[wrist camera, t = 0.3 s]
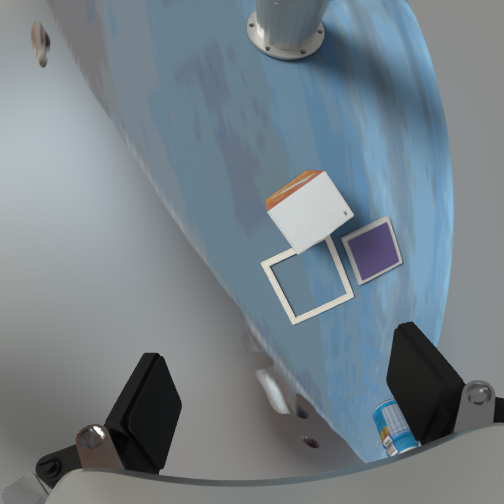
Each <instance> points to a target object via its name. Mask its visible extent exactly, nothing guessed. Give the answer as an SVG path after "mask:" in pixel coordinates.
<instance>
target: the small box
mask: <svg viewBox="0 0 504 504" xmlns="http://www.w3.org/2000/svg"><path fill="white" fill-rule="evenodd" d="M266 206H267V213H268V214H269V215H270V217H271V218H272V220H273V221H274V222H275V224H276V225H277V227H278V228H279V229H280V231H281V232H282V234H283V235H284V236H285V238H286V239H287V241H288V242H289V243H290V245H291V246H292V248H293V249H294V251H295V252H296V253H297V254H298V255H299V254H301V253H303V252H304V251H306V250H307V249H309V248H310V247H312V246H313V245H314V244H316V243H317V242H319V241H320V240H322V239H323V238H325V237H327V236H328V235H329V234H331V233H332V232H333V231H335V230H336V229H337V228H338V227H340V226H341V225H342V224H344V223H345V222H346V221H348V220H349V219H350V218H352V217H353V216H354V214H353V212H352V211H351V209H350V208H349V206H348V205H347V203H346V201H345V200H344V198H343V197H342V195H341V194H340V193H339V191H338V190H337V188H336V187H335V185H334V184H333V182H332V181H331V179H330V178H329V176H328V175H327V173H326V172H325V171H312V170H306V171H305V172H303V173H302V174H301V175H299V176H298V177H297V178H295V179H294V180H293V181H291V182H290V183H289V184H287V185H286V186H284V187H283V188H282V189H280V190H279V191H277V192H276V193H275V194H273V195H272V196H270V197H269V198H267V199H266Z"/></svg>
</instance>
